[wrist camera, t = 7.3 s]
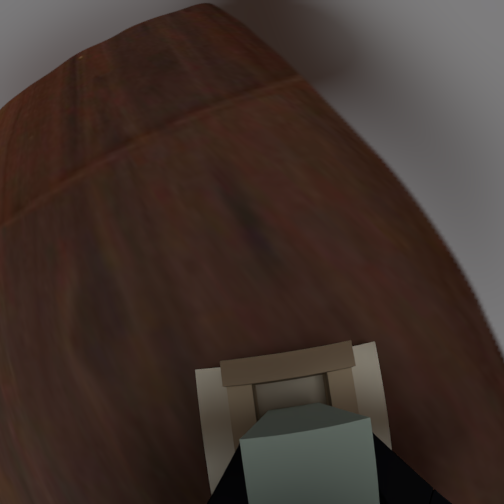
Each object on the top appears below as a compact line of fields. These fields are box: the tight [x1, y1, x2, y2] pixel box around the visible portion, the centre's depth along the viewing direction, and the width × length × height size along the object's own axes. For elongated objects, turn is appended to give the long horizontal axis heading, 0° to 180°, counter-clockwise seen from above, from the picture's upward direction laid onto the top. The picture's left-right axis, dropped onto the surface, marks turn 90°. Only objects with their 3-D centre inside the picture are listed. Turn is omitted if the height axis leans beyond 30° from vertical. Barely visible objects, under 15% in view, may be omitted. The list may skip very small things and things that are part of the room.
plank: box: [239, 402, 380, 504], centre depth 9 cm, size 4×2×10 cm, turn 7°
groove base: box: [195, 340, 392, 496], centre depth 14 cm, size 8×10×4 cm
